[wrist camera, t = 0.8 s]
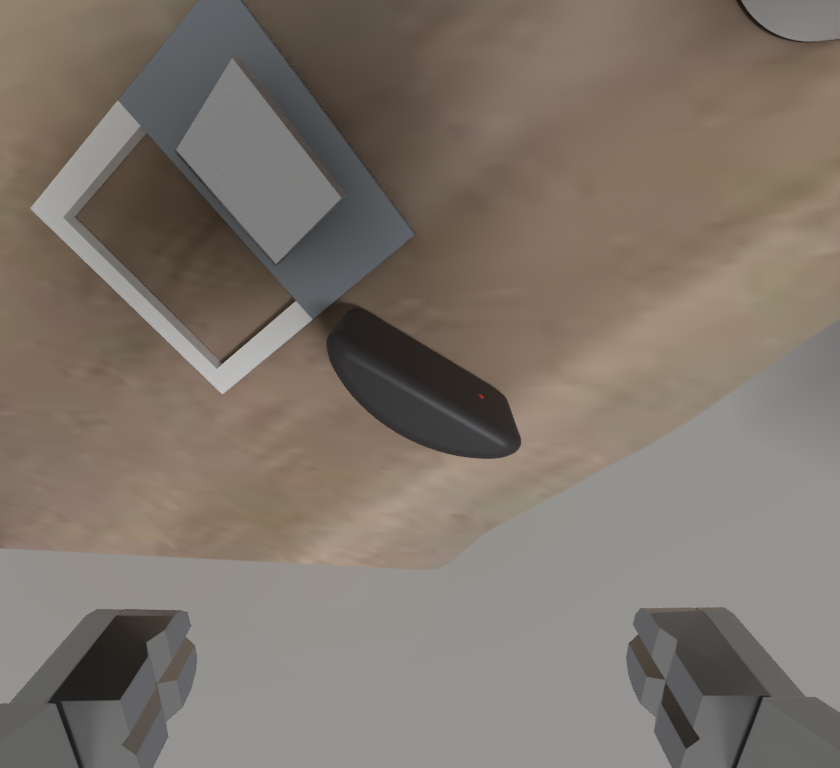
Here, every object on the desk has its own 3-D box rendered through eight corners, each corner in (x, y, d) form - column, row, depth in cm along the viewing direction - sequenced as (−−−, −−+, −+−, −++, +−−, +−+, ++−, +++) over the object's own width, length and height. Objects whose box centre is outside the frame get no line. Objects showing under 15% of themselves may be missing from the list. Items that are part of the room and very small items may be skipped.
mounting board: (228, -18, 28) (220, -27, 27) (415, 233, 34) (414, 234, 33) (43, 208, 34) (30, 208, 33) (228, 389, 40) (222, 394, 39)
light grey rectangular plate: (242, 58, 27) (232, 57, 26) (347, 195, 30) (341, 197, 29) (183, 153, 31) (173, 154, 31) (279, 263, 34) (272, 267, 34)
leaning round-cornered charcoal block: (331, 343, 38) (299, 385, 29) (355, 300, 36) (329, 331, 28) (481, 429, 41) (492, 491, 32) (509, 393, 39) (530, 447, 31)
